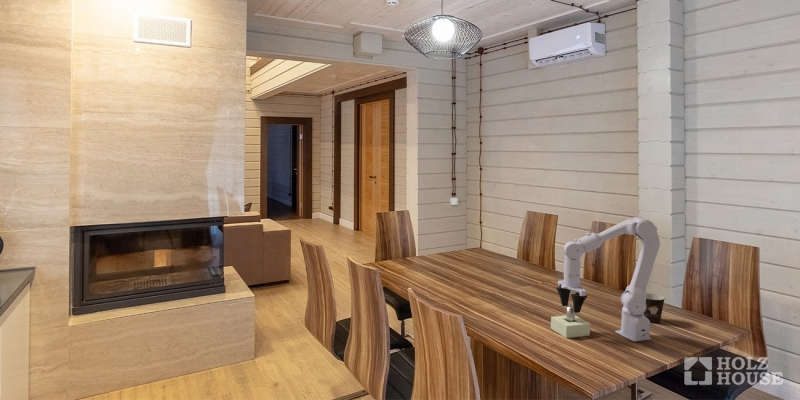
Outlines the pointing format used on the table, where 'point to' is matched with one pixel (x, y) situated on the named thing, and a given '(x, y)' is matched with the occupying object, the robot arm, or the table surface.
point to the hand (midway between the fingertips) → (570, 309)
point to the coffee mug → (654, 307)
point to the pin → (570, 314)
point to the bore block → (570, 326)
